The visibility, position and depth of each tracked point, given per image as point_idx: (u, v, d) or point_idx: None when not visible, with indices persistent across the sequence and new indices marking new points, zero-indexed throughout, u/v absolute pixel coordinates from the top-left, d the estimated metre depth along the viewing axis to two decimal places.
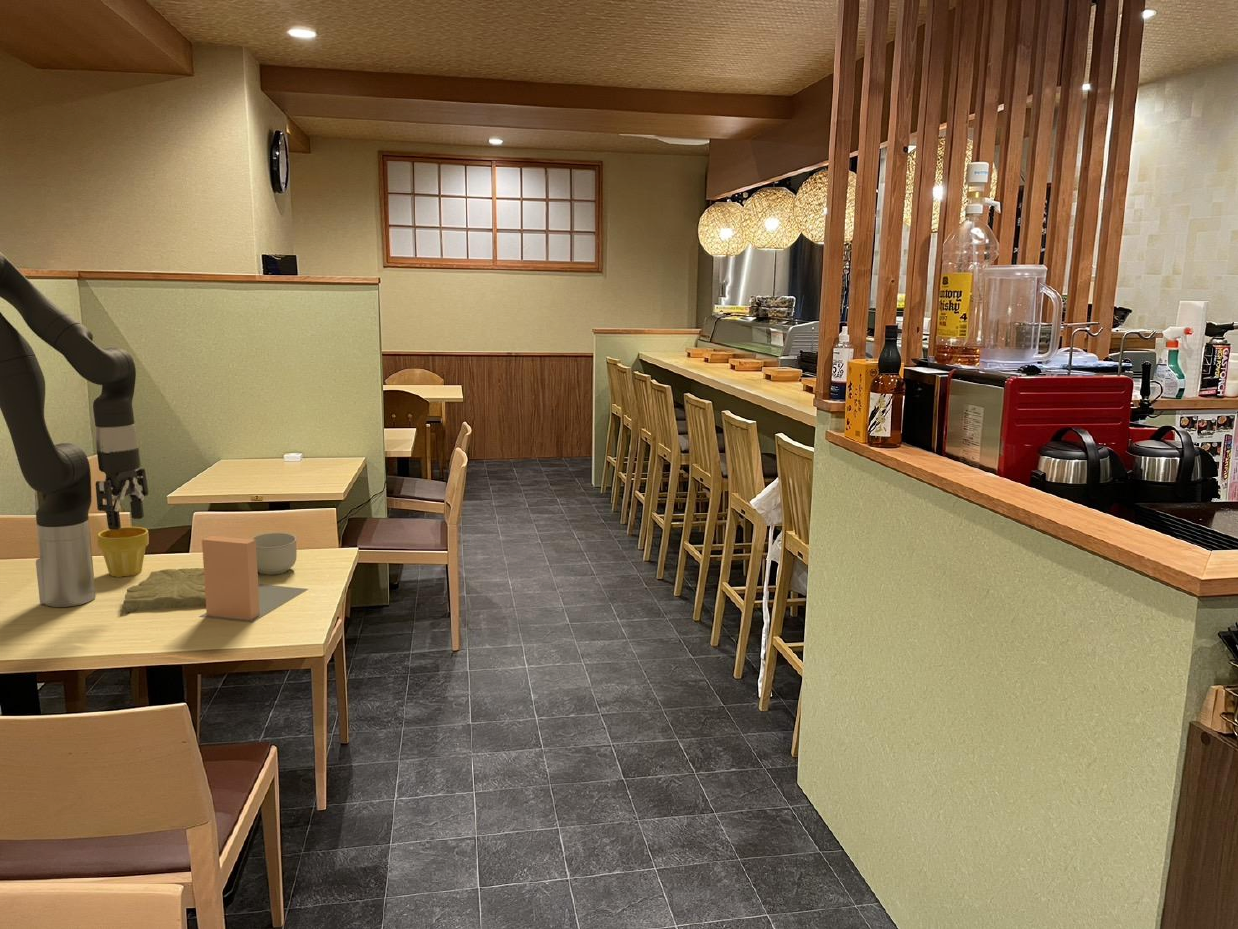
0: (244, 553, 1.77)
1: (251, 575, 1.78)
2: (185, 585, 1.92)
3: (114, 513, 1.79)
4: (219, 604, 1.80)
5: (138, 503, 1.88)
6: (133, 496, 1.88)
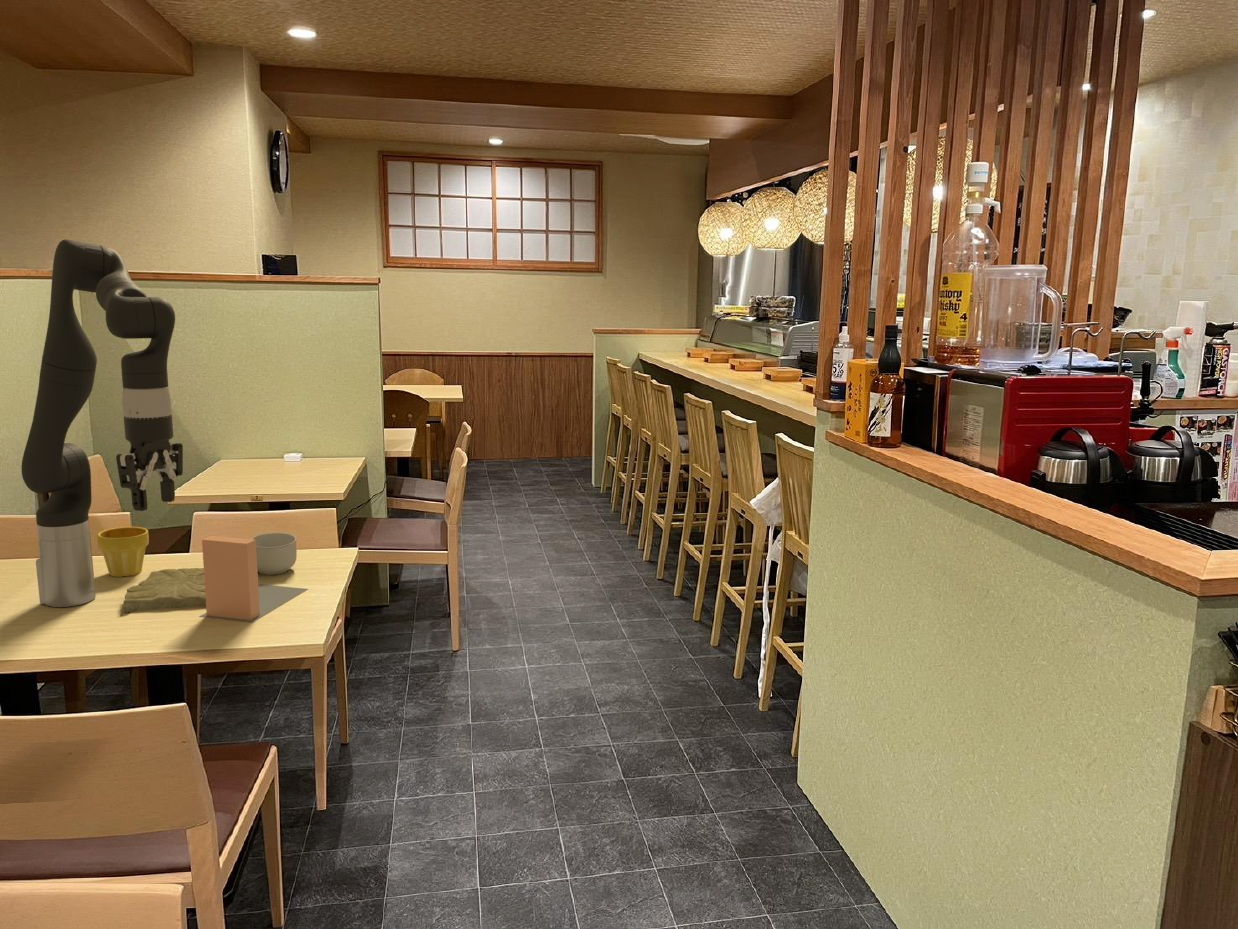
0: (244, 553, 1.77)
1: (251, 575, 1.78)
2: (185, 584, 1.92)
3: None
4: (219, 604, 1.80)
5: None
6: None
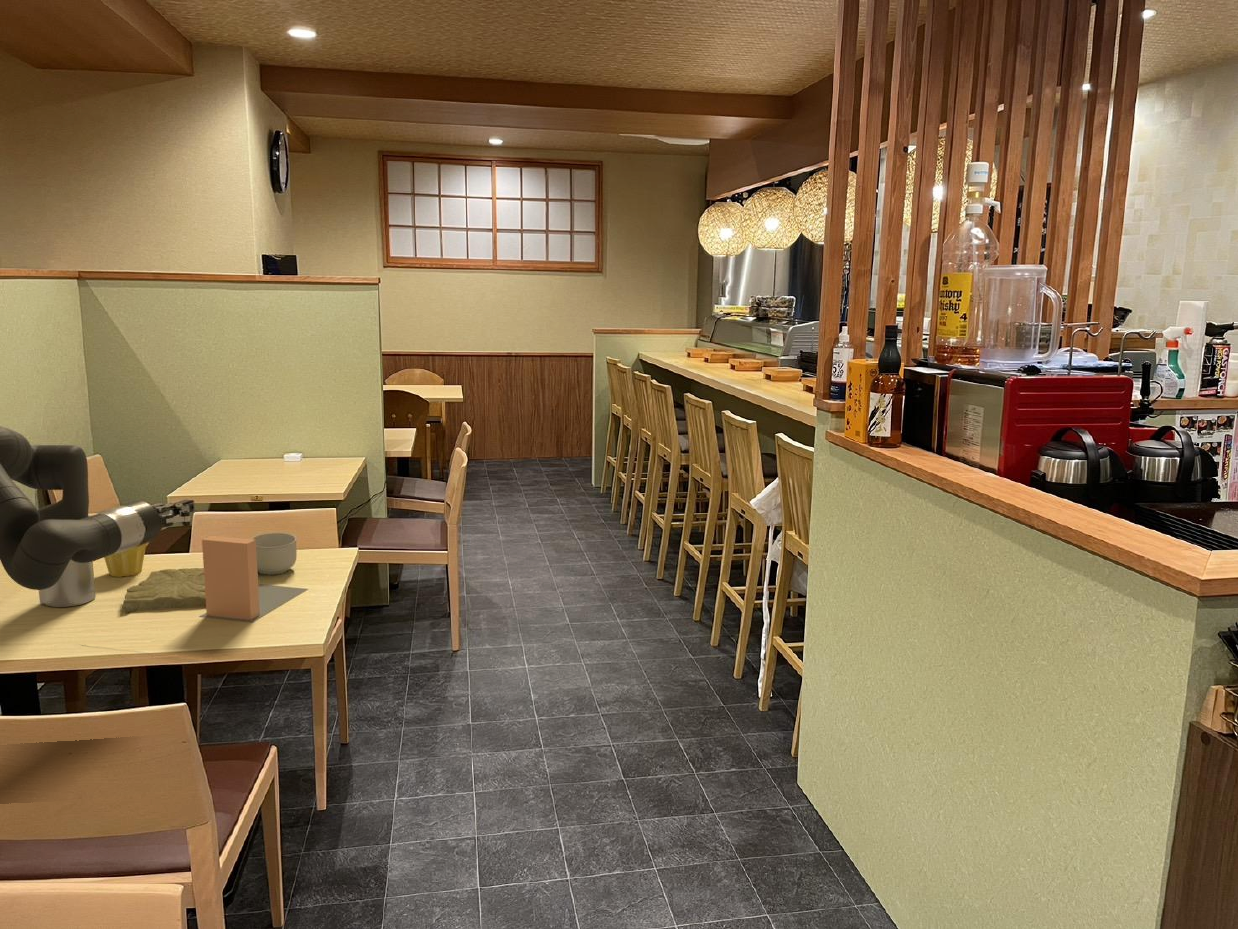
0: (244, 553, 1.77)
1: (251, 575, 1.78)
2: (185, 585, 1.92)
3: None
4: (219, 604, 1.80)
5: None
6: None
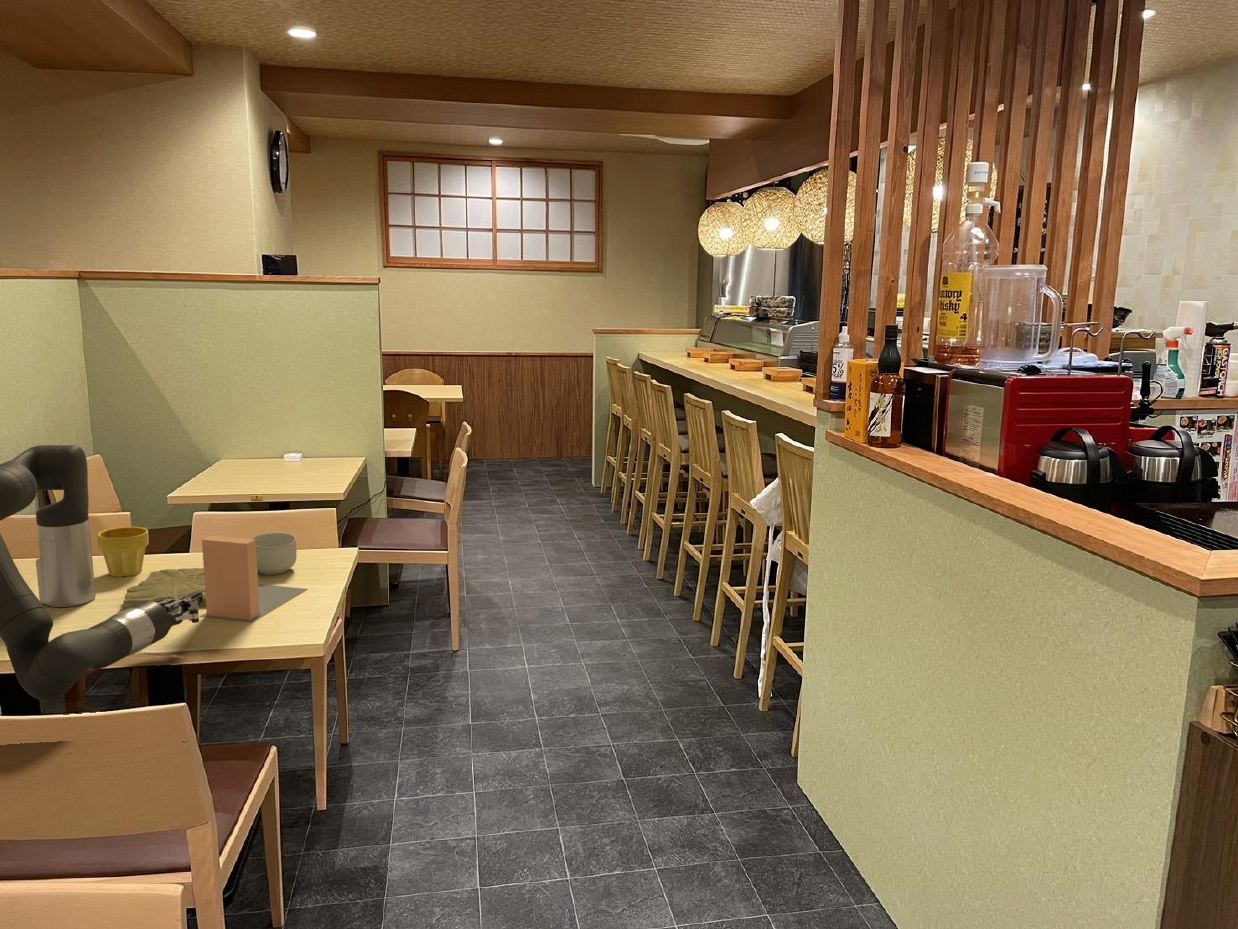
0: (244, 553, 1.77)
1: (251, 575, 1.78)
2: (185, 585, 1.92)
3: (191, 599, 1.67)
4: (219, 604, 1.80)
5: None
6: None
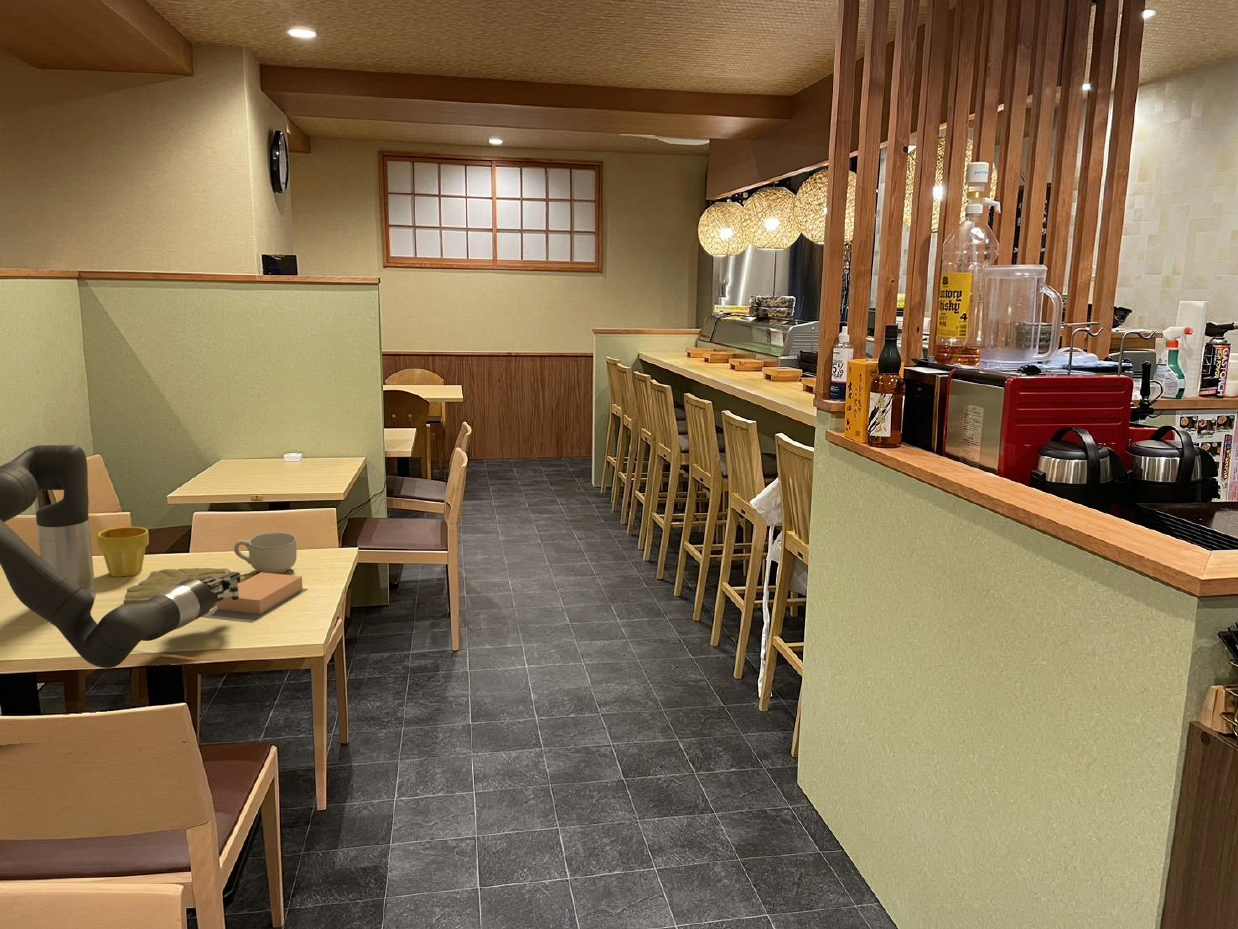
0: (293, 579, 1.95)
1: (284, 590, 1.91)
2: None
3: (230, 579, 1.78)
4: None
5: None
6: None
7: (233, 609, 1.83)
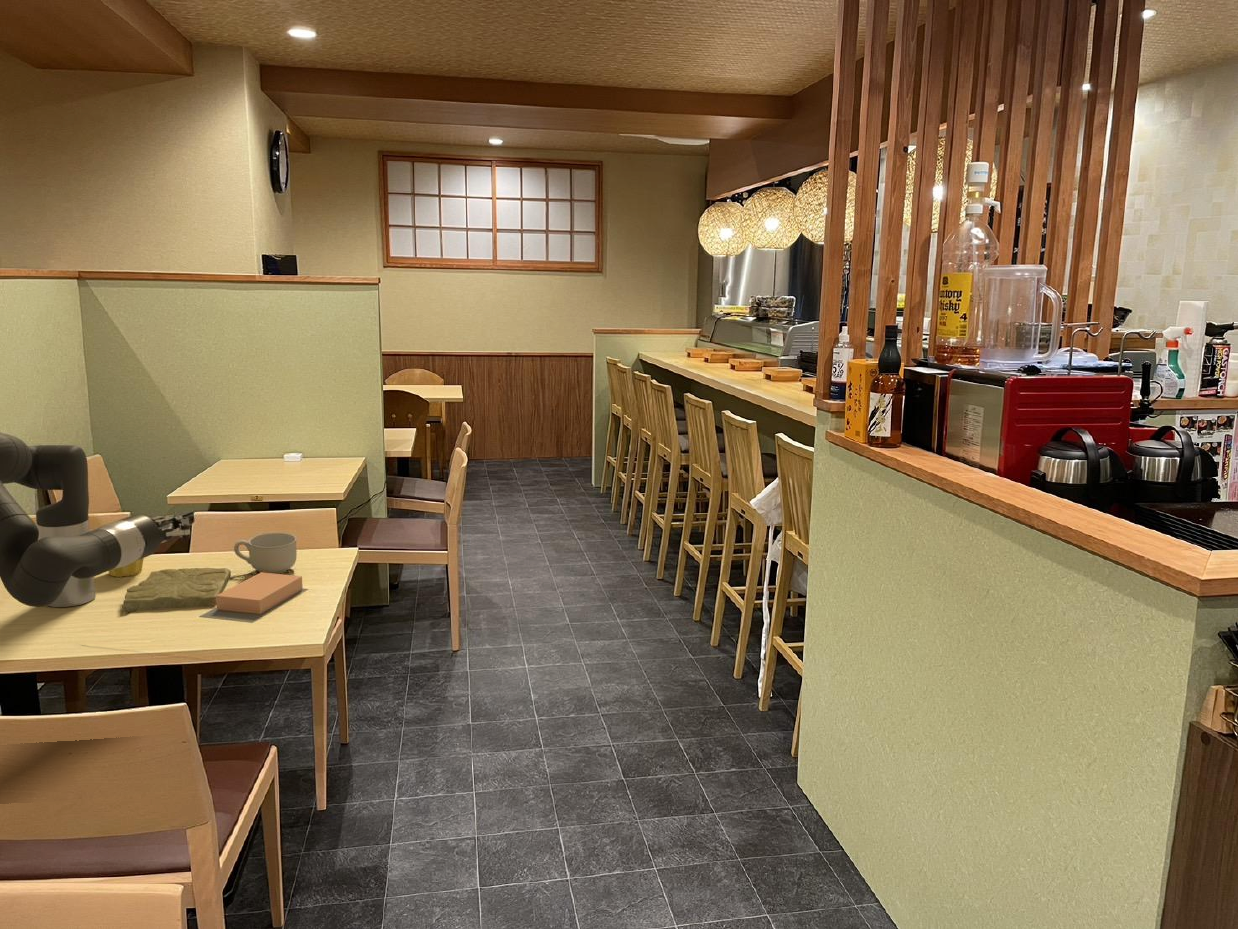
0: (293, 579, 1.95)
1: (284, 590, 1.91)
2: (185, 584, 1.92)
3: (182, 518, 1.63)
4: (237, 592, 1.86)
5: None
6: None
7: (233, 609, 1.83)
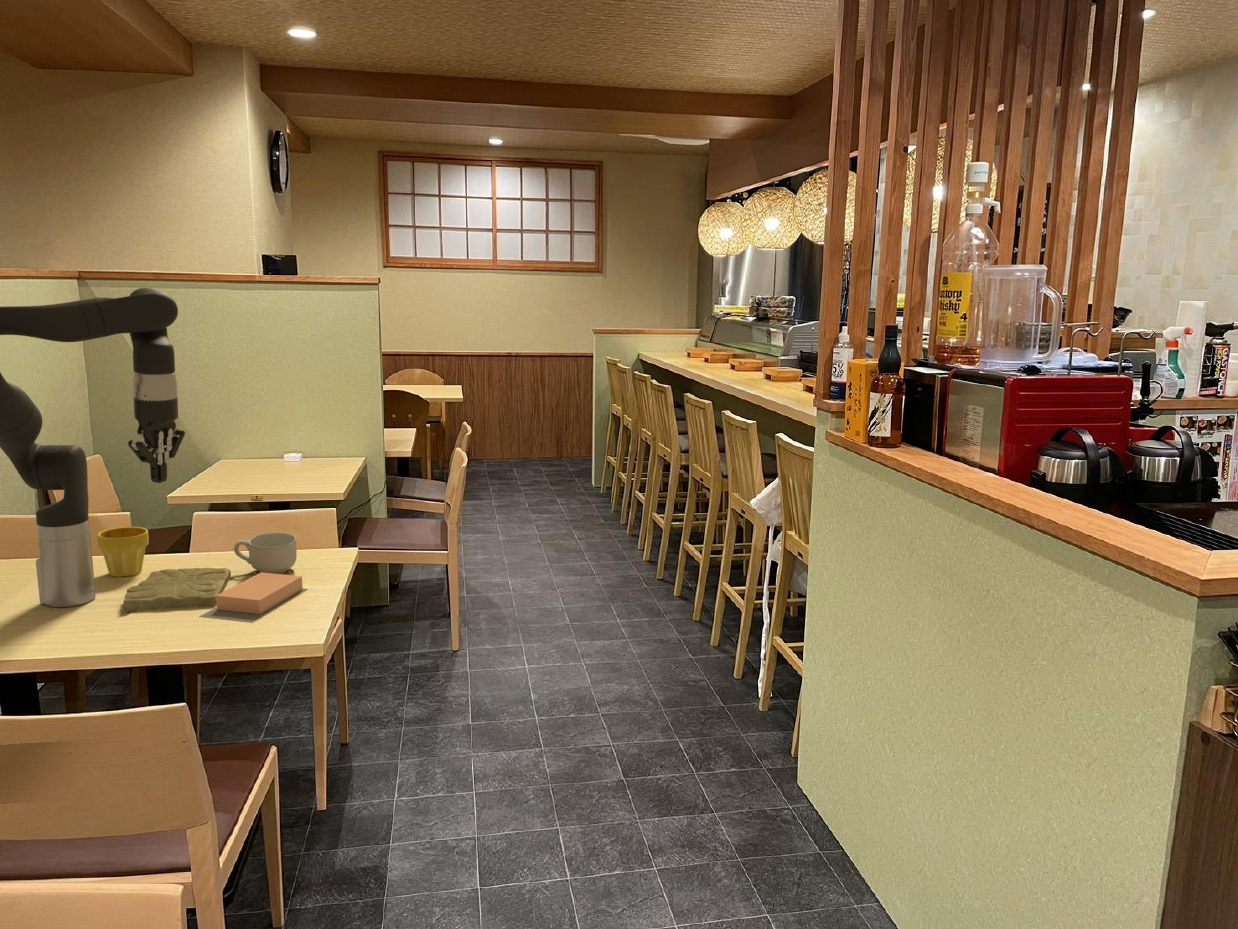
0: (293, 579, 1.95)
1: (284, 590, 1.91)
2: (185, 585, 1.92)
3: None
4: (237, 592, 1.86)
5: None
6: None
7: (233, 609, 1.83)
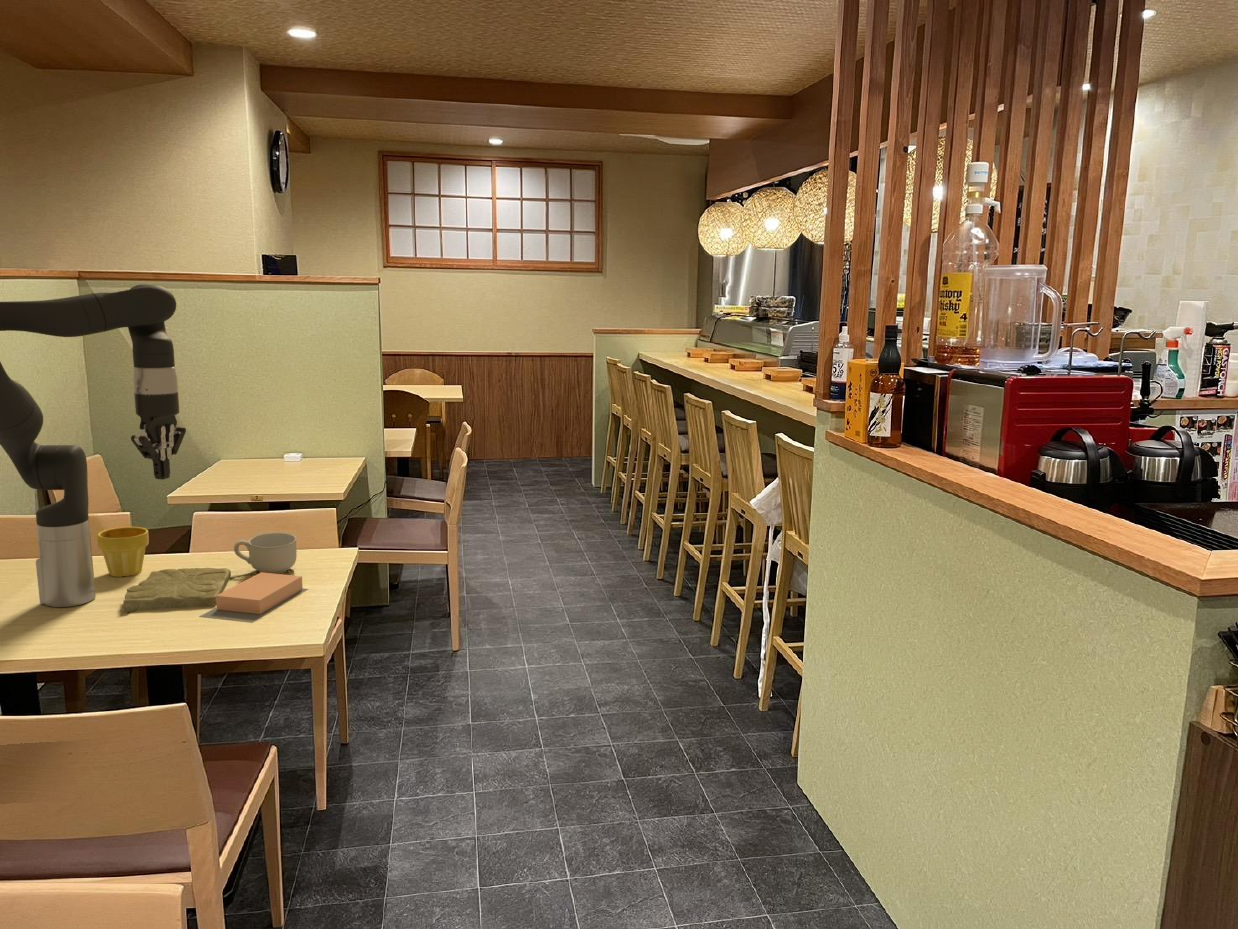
0: (293, 579, 1.95)
1: (284, 590, 1.91)
2: (185, 585, 1.92)
3: None
4: (237, 592, 1.86)
5: None
6: None
7: (233, 609, 1.83)
